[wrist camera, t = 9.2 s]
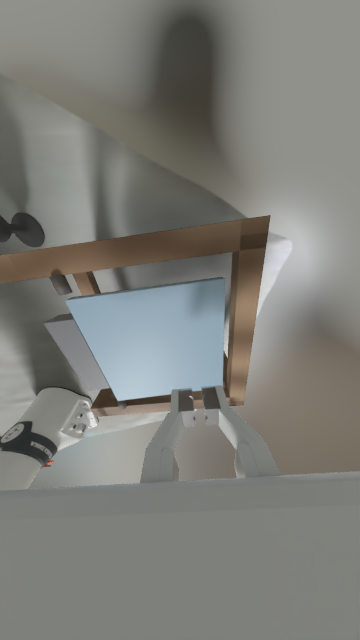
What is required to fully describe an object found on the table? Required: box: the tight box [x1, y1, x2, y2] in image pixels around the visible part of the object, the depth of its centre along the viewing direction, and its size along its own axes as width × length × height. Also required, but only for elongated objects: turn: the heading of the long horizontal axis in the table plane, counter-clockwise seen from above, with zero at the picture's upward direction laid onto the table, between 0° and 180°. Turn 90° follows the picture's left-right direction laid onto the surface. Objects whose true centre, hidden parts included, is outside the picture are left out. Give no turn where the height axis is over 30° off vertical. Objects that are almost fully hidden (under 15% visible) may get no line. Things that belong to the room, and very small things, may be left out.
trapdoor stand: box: [0, 215, 270, 417], centre depth 22 cm, size 22×22×16 cm
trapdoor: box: [43, 277, 225, 401], centre depth 16 cm, size 14×18×2 cm
